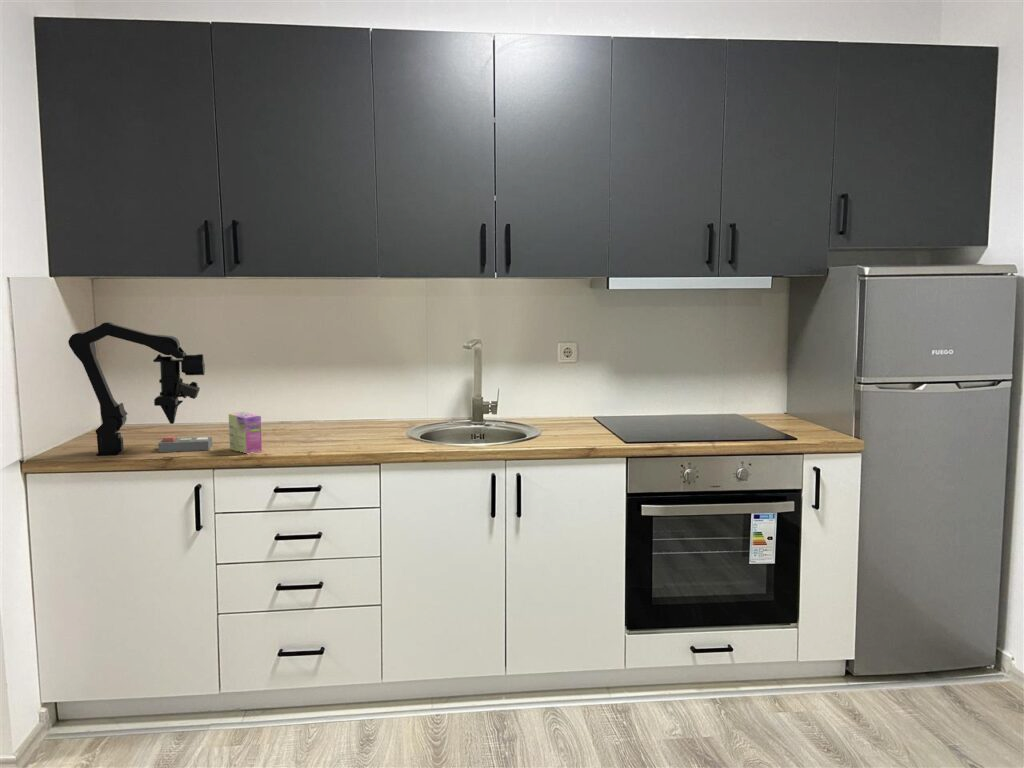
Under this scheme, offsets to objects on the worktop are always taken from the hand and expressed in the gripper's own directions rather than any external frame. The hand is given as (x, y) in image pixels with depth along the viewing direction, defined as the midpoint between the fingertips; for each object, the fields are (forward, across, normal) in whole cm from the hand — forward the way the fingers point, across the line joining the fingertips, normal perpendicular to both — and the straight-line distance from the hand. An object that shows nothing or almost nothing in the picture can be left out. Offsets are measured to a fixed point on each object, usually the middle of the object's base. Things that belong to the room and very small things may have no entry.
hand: (172, 423), depth 254 cm
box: (+8, -6, -24) cm, 26 cm away
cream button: (+7, 0, -9) cm, 11 cm away
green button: (+7, 0, -4) cm, 8 cm away
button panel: (+8, 0, -4) cm, 9 cm away
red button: (+6, 0, +1) cm, 6 cm away
